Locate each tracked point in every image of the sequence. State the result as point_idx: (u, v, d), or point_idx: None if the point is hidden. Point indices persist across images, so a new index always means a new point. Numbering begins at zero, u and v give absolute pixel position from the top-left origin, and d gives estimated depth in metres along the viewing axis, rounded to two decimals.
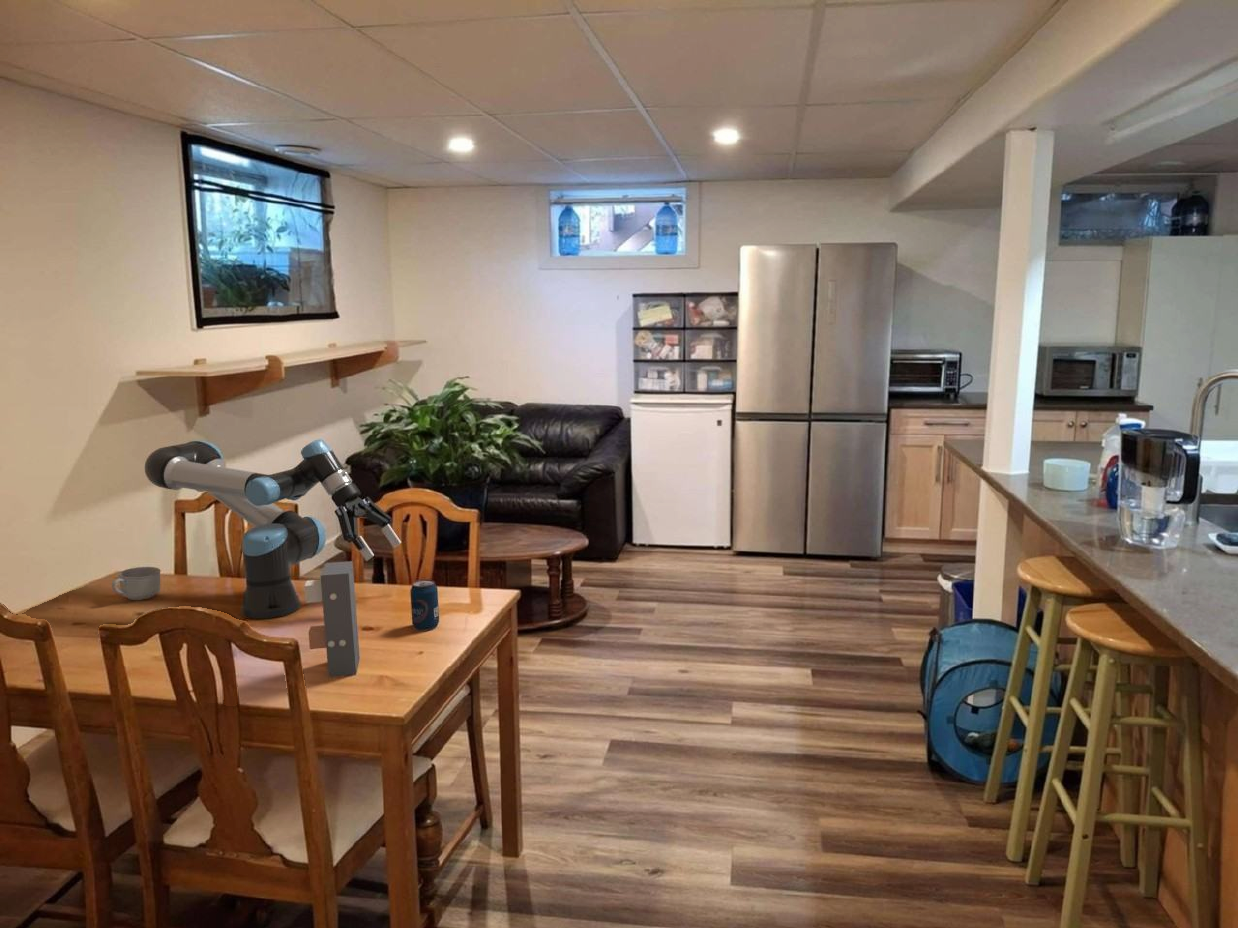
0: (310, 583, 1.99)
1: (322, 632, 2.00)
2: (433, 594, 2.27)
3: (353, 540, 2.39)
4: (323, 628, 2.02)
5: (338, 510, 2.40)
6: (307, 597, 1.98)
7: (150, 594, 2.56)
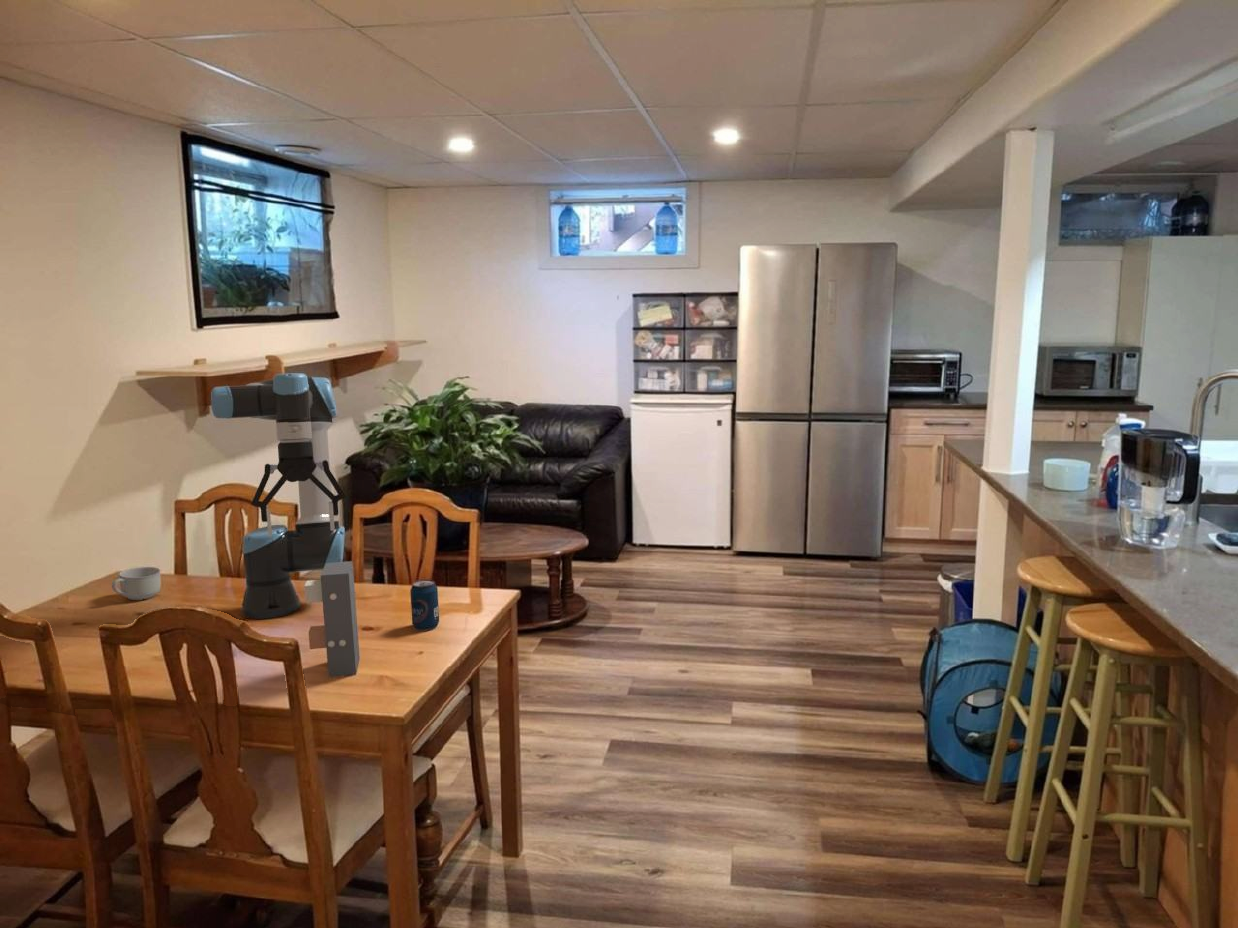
0: (310, 583, 1.99)
1: (322, 632, 2.00)
2: (433, 594, 2.27)
3: (260, 508, 1.99)
4: (323, 628, 2.02)
5: None
6: (307, 597, 1.98)
7: (150, 594, 2.56)
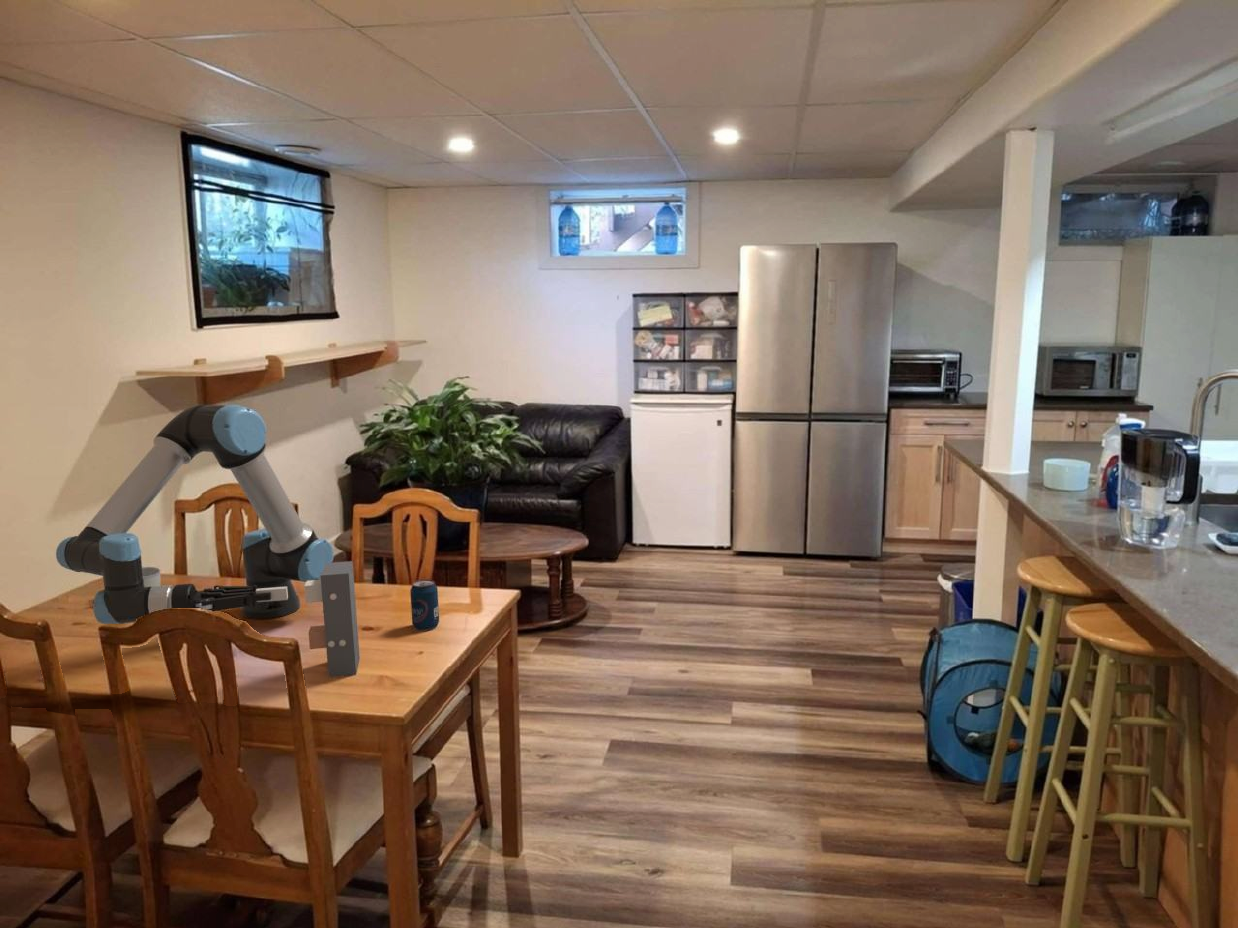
0: (310, 583, 1.99)
1: (322, 632, 2.00)
2: (433, 594, 2.27)
3: None
4: (323, 628, 2.02)
5: None
6: (307, 597, 1.98)
7: None
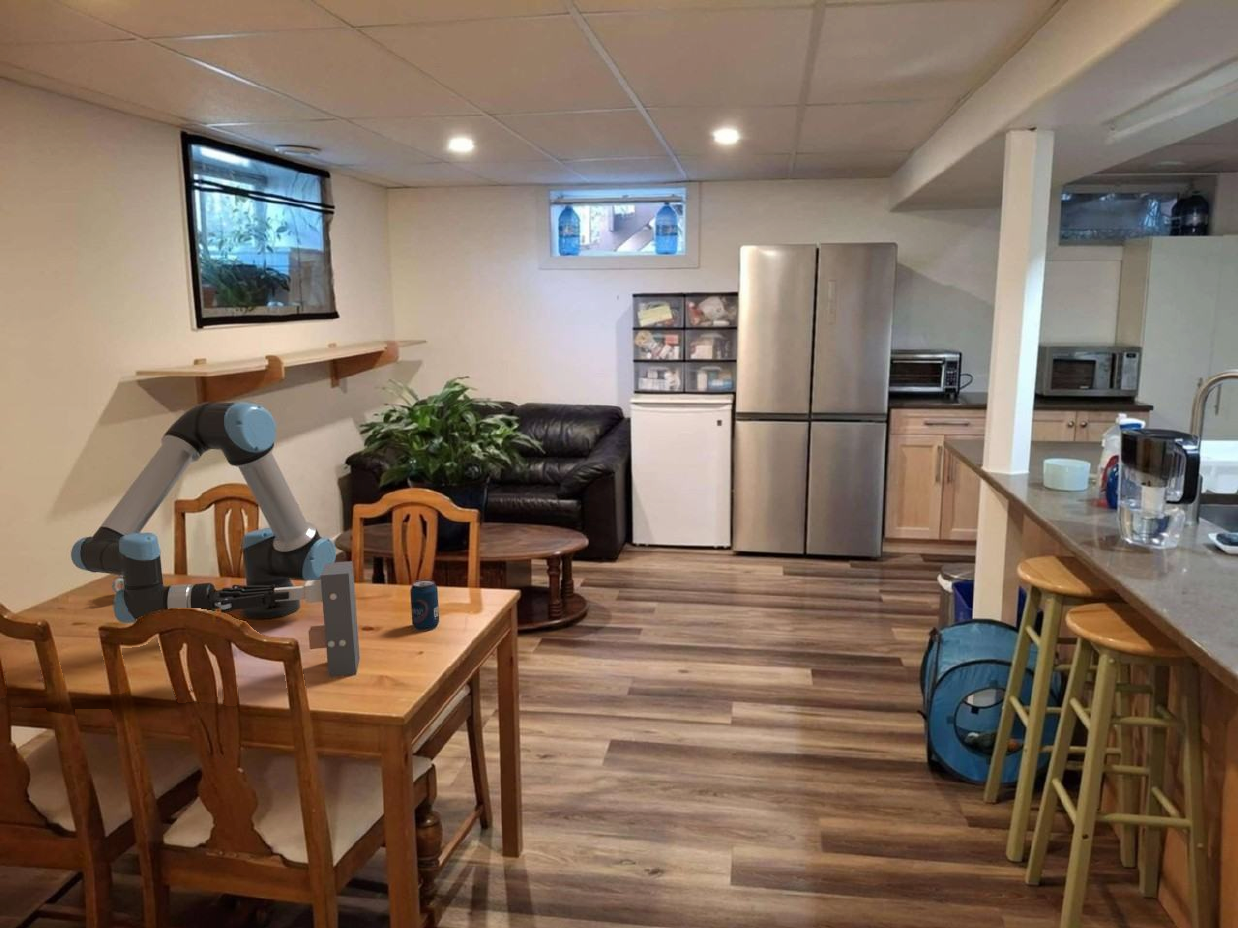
0: (310, 583, 1.99)
1: (322, 632, 2.00)
2: (433, 594, 2.27)
3: None
4: (323, 628, 2.02)
5: None
6: (307, 597, 1.98)
7: None
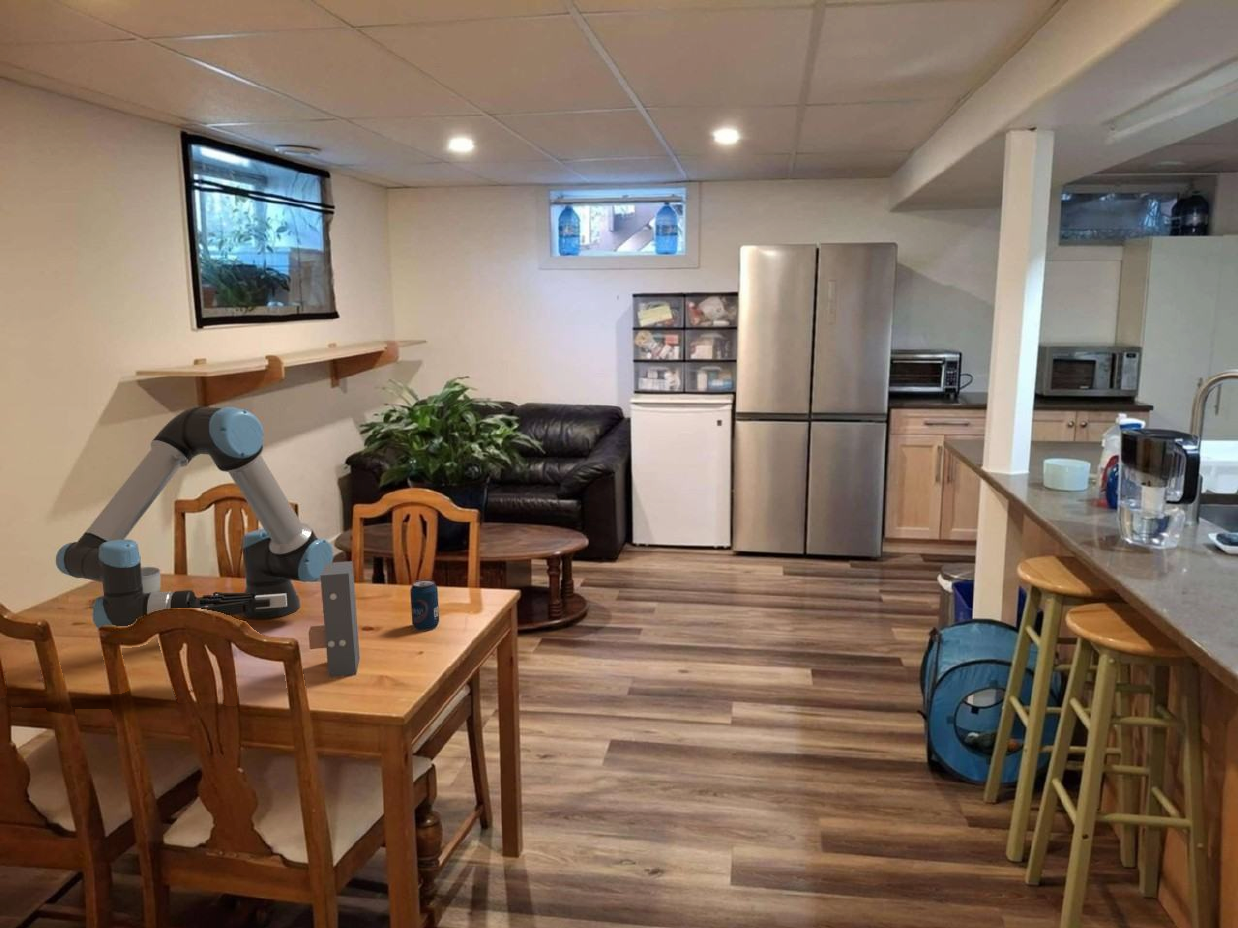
0: None
1: (322, 632, 2.00)
2: (433, 594, 2.27)
3: None
4: (323, 628, 2.02)
5: None
6: None
7: None
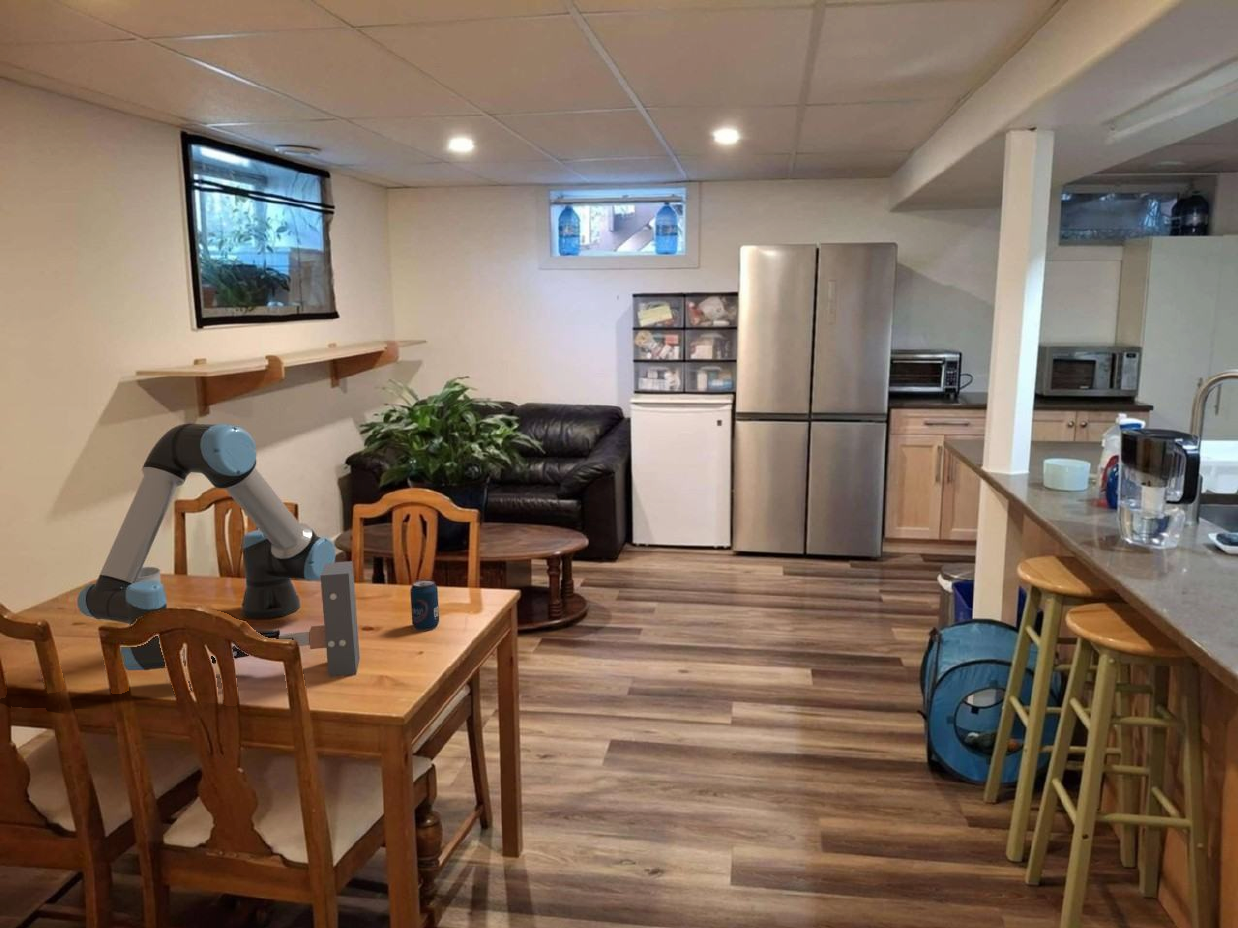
0: None
1: (323, 632, 2.00)
2: (433, 594, 2.27)
3: None
4: (324, 628, 2.02)
5: None
6: None
7: None
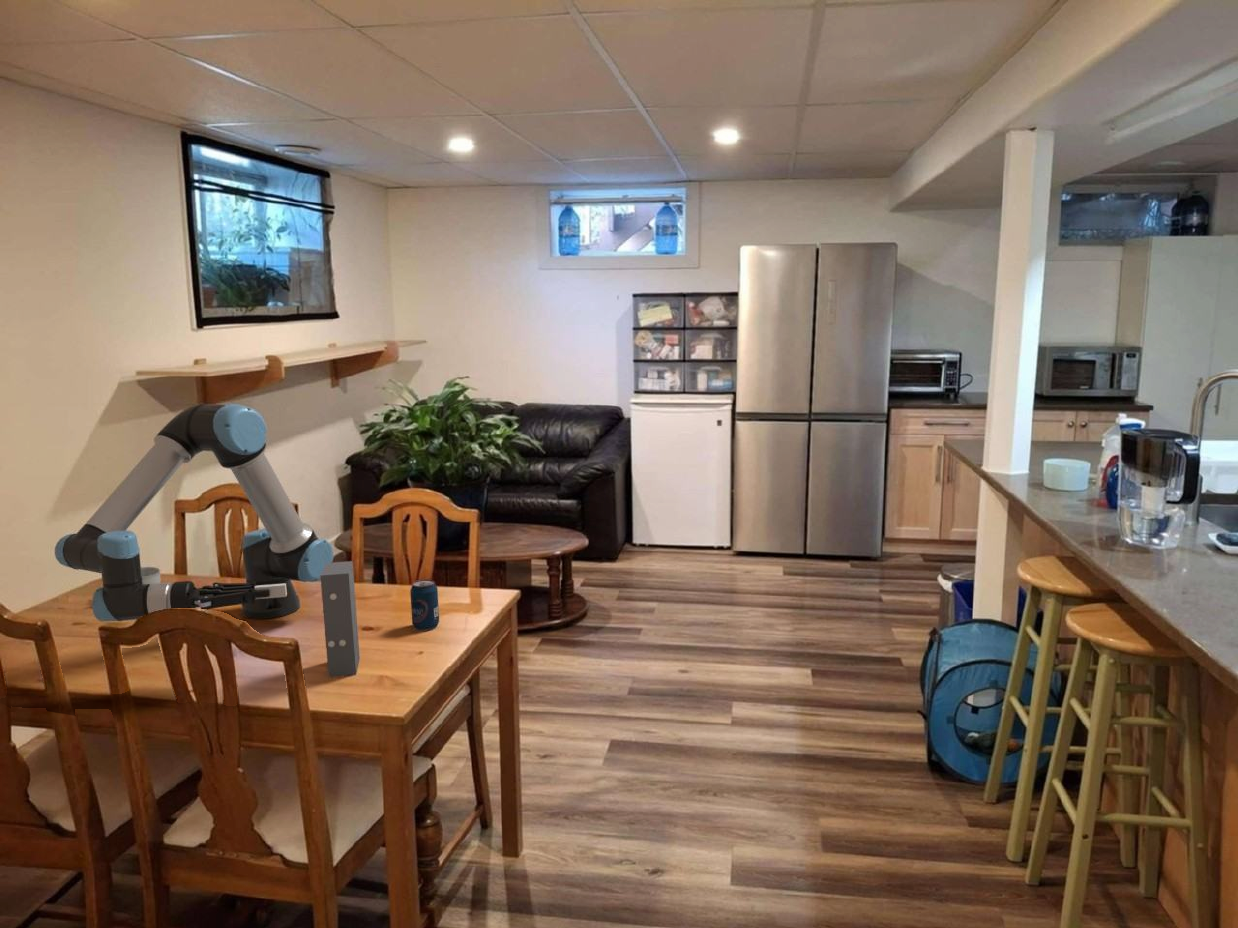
0: None
1: None
2: (433, 594, 2.27)
3: None
4: None
5: None
6: None
7: None
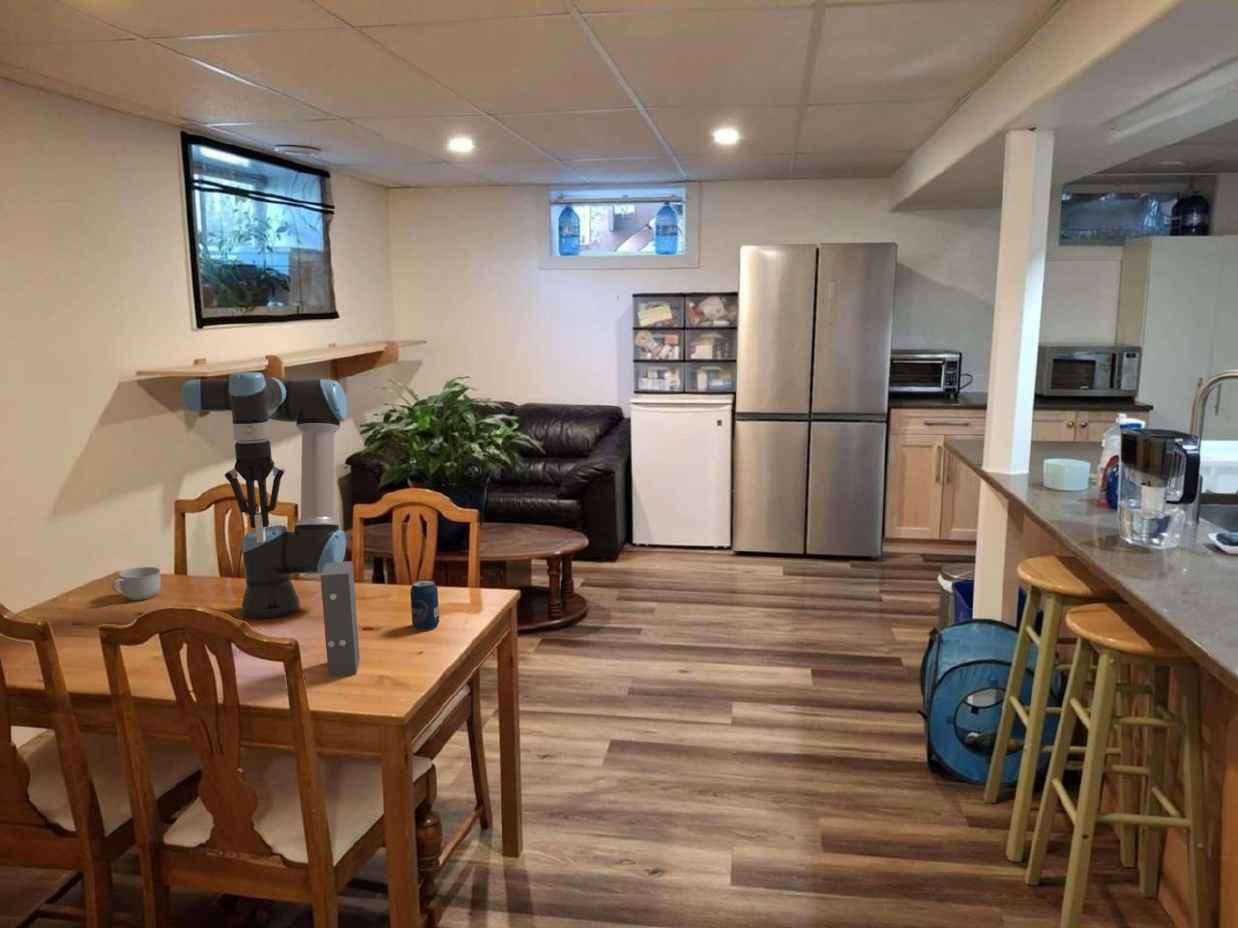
0: None
1: None
2: (433, 594, 2.27)
3: None
4: None
5: None
6: None
7: (150, 594, 2.56)
